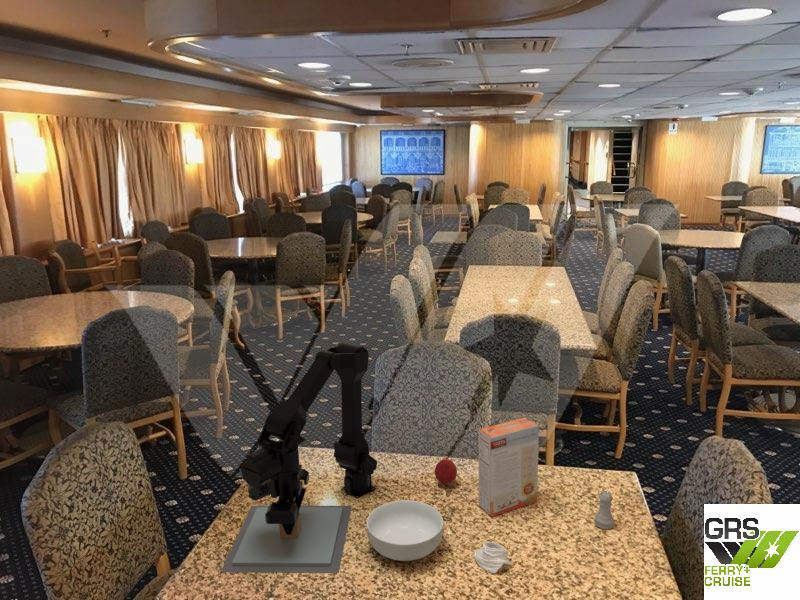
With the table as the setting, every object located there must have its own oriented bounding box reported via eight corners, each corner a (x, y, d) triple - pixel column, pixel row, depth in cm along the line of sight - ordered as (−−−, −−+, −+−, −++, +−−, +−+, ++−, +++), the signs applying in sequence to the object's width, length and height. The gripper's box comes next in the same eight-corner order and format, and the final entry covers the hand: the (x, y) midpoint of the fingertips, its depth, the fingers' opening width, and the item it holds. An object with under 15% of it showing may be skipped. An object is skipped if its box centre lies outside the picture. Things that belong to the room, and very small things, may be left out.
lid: (257, 510, 154) (256, 492, 153) (342, 510, 153) (341, 492, 152) (232, 565, 133) (230, 546, 132) (330, 566, 133) (329, 546, 131)
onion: (455, 491, 161) (455, 463, 159) (433, 489, 162) (433, 461, 160) (458, 479, 167) (458, 452, 165) (436, 478, 168) (436, 450, 166)
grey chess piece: (615, 521, 147) (617, 491, 145) (612, 532, 143) (614, 500, 141) (595, 517, 149) (597, 487, 147) (592, 527, 145) (594, 496, 143)
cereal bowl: (387, 583, 128) (387, 553, 126) (355, 540, 142) (354, 512, 141) (458, 557, 135) (458, 528, 134) (420, 518, 150) (420, 492, 148)
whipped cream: (468, 565, 134) (465, 545, 133) (487, 548, 139) (485, 529, 138) (499, 580, 129) (496, 560, 128) (517, 562, 133) (515, 542, 132)
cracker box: (523, 491, 161) (525, 415, 156) (538, 503, 155) (540, 425, 150) (476, 505, 155) (477, 427, 150) (490, 518, 149) (491, 437, 144)
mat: (251, 507, 156) (251, 505, 156) (351, 507, 155) (351, 505, 155) (220, 574, 132) (220, 572, 131) (338, 574, 131) (338, 572, 131)
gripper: (260, 446, 148) (265, 505, 152) (238, 488, 130) (244, 554, 134) (307, 446, 148) (311, 505, 152) (291, 488, 130) (296, 554, 133)
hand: (290, 528), depth 143 cm, fingers closed on lid, 4 cm apart
